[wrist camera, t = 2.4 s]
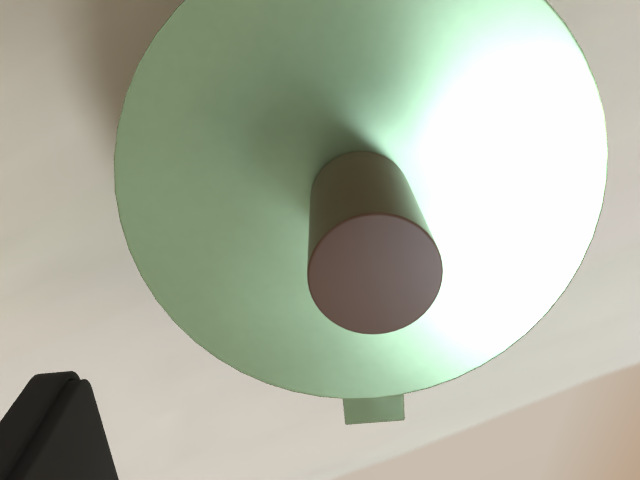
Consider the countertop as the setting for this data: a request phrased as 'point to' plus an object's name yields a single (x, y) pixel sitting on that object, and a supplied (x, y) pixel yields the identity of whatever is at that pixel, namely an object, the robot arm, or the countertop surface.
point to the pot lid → (360, 183)
